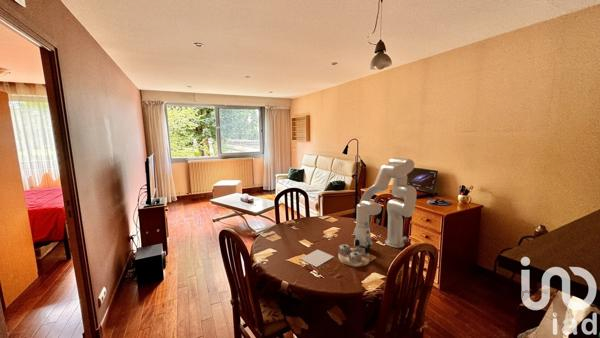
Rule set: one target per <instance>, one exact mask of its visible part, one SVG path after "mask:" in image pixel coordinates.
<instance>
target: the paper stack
mask: <svg viewBox="0 0 600 338" xmlns="http://www.w3.org/2000/svg"><path fill="white" fill-rule="evenodd" d="M333 258H335V256H334V255H332V254H329V253H327V252H325V251H322V250H320V249H315V250H314V251H312V252H310V253H308V254H306V255H304V256H302V257H301V258H299V259H300V260H302V261H303V262H306V263H308V264H310V265H311V266H314V267H316V268H318V267H320V266H321V265H323V264H324V263H326V262H327V261H329V260H331V259H333Z"/></svg>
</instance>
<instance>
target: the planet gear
mask: <svg viewBox="0 0 600 338" xmlns="http://www.w3.org/2000/svg"><path fill="white" fill-rule="evenodd" d="M361 246H362V245H358V246H357V247H355V248H356V249H357V250H358V252H359V253H360V254H362V255H363V256H364V255H367V254H369V253H367V254H366V253H365V247H366V246H365V245H363V246H364V248H361Z"/></svg>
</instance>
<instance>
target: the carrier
mask: <svg viewBox="0 0 600 338" xmlns="http://www.w3.org/2000/svg"><path fill="white" fill-rule="evenodd" d="M361 248H364V246H363V245H362V246H361ZM338 260H339V261H340V262H341V263H342V264H344V265H346V266H350V267H355V268H358V267H364V266H366V265H368V264H370V262H371V255H370V254H369V253H368V254H367V255H364V256H363V255H362V254H360V253H359V252H358V250H357V249H356V247H351V246H350V245H348V244H339V246H338Z"/></svg>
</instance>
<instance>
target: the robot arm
mask: <svg viewBox="0 0 600 338" xmlns="http://www.w3.org/2000/svg"><path fill="white" fill-rule="evenodd" d="M414 168H415V161H414V160H412V159H411V158H402V157H391V158H389V159H388V163H386V164H382V165H381V166H380V168H379V170H378V173H377V175H376V178H375V180H374V183H373V184H372V185H371V186H369V187H368V188H367V189H366V190H365V191H364V192H363V194H362V196H361V198H360V201H359V203H357V204H356V225H355V228H354V229H355V232H354V231H353V232H352V234H353V240H355V246H354V248H356V247H357V246H358V245H360V241H361V242H363V243H364V244H365V246H366V247H365V253H366V254H367V253H368V254H369V253H370V252H371V247H372V245H373V240H372V235H371V227H370V216H377V215H379V214H380V213H382V212H381V211H382V206H381V205H380V203H378V202H375V201H371V198H372V197H373V196H374V195H376V194H378V193H383V192H385V191H386V190H387V189H388V187H389V184H390V183H391V180H392V179H393V181H392V188H391V195H392V196H393V197H394V198H392V199H390V200H388V201H387V203H386V211H387V239H385V240H384V244H385V245H387V246H388V247H392V248H396V249H397V248H404V246H405V242H404V241H405V240H407V239H408V237H407V236H403V230H404V228H403V226H404V218H403V217H405V218H410V217H412V216H413V214H414V211H415V208H416V202H417V194H418V193H417V190H416V188H415V187H414V186H412V185H409V184H407V183H408V174H409V173H412V171H414ZM396 198H398V199H396ZM400 199H402V200H400ZM354 238H355V239H354ZM366 241H367V242H366ZM366 243H368V245H367V244H366Z"/></svg>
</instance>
